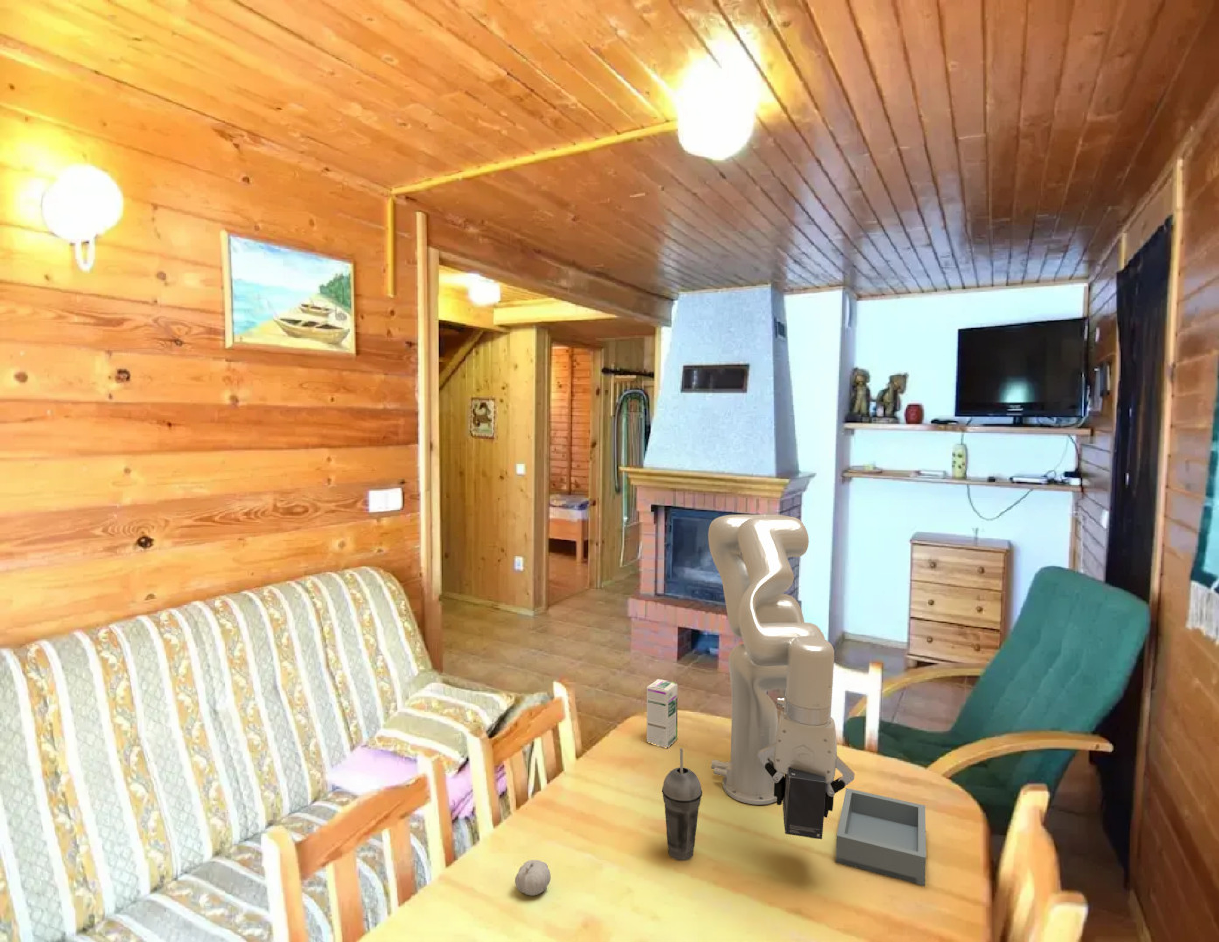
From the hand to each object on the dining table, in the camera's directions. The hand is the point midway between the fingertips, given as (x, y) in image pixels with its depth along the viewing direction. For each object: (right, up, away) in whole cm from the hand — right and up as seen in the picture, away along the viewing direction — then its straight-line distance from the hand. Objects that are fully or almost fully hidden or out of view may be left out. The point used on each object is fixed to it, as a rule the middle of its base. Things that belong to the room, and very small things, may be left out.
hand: (802, 805), depth 118 cm
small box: (0, -3, 0) cm, 3 cm away
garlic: (-46, -12, -5) cm, 48 cm away
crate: (+17, -11, +7) cm, 21 cm away
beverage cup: (-21, -11, +5) cm, 24 cm away
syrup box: (-21, -8, +48) cm, 53 cm away
